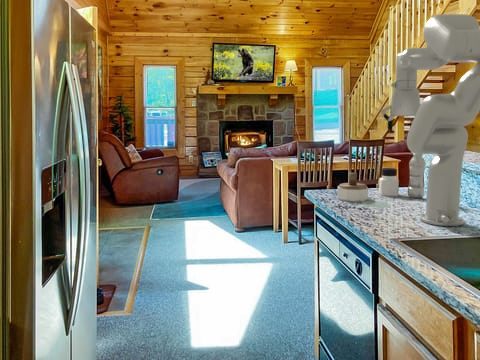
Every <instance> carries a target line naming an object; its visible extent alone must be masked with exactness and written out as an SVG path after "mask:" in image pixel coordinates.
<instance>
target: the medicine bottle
mask: <svg viewBox="0 0 480 360" xmlns="http://www.w3.org/2000/svg"><path fill="white" fill-rule="evenodd" d="M397 171H398V170H397V168H395V167H382V170H381V177H379V180H378V194H379V195H380V196H385V197H386V196H388V197H389V196H391V197H394V196H395V197H399V189H400V180H399V179H397V177H398V176H397V174H398V172H397Z"/></svg>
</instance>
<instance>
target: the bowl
mask: <svg viewBox="0 0 480 360" xmlns="http://www.w3.org/2000/svg"><path fill="white" fill-rule="evenodd" d="M368 199H369V188H368V187H367V188H366V189H361V190H350V189H342V188H340V187H339V185H337V200H341V201H346V202H361V201H368Z"/></svg>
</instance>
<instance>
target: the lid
mask: <svg viewBox="0 0 480 360" xmlns="http://www.w3.org/2000/svg"><path fill="white" fill-rule="evenodd" d="M348 178H349V179H348V180H349V181H348V182H343V183H340V184H339V185H338V186H339V187H340V188H342V189H350V190H361V189H366V188H368V185H367V184H365V183H358V180H357V178H358V173H357V172H349V177H348Z"/></svg>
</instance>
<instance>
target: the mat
mask: <svg viewBox="0 0 480 360" xmlns="http://www.w3.org/2000/svg"><path fill="white" fill-rule="evenodd" d="M360 202H361V203H360V204H361V206H362V207H367V208H391V205H390V204H389V203H388V202H387V201H368V200H364V201H360Z"/></svg>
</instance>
